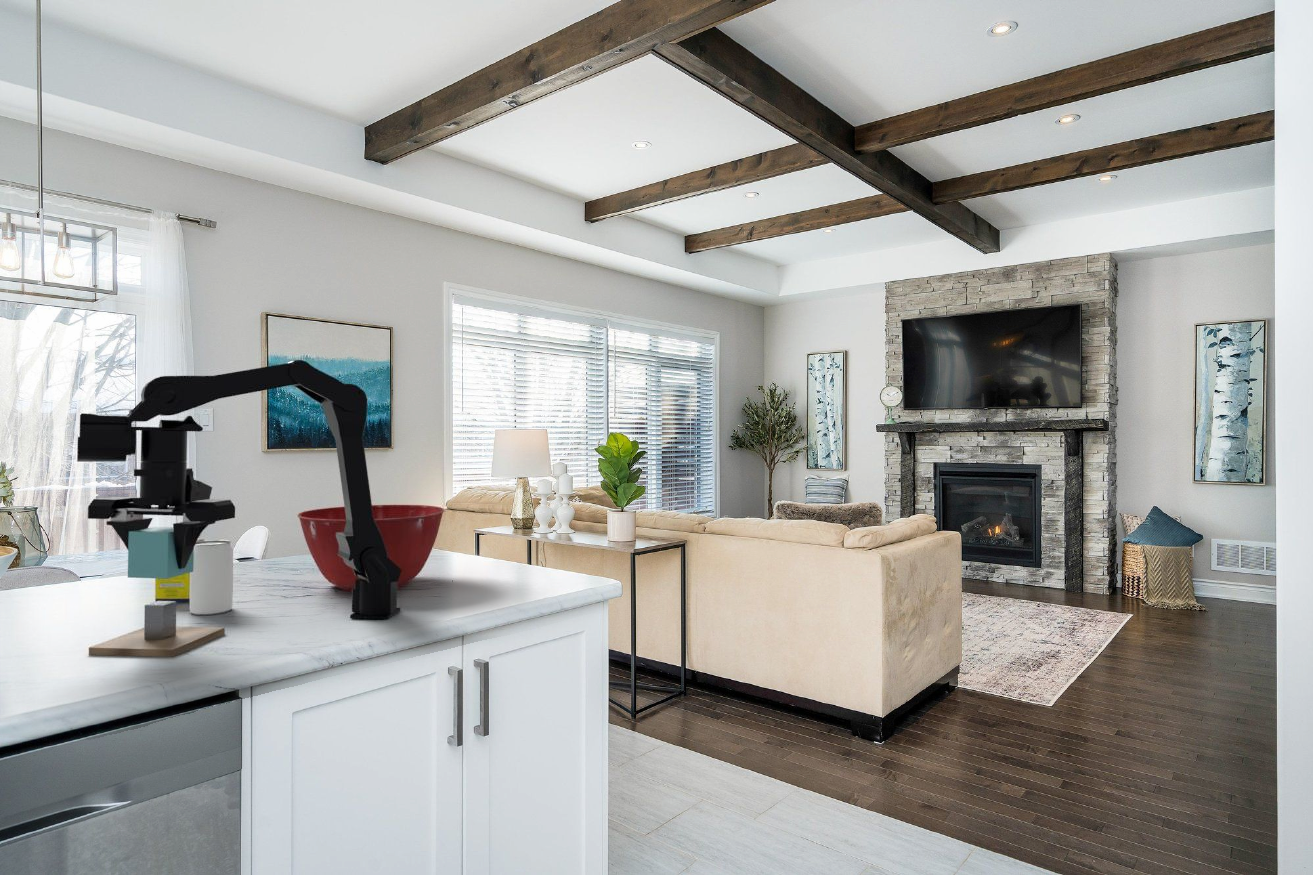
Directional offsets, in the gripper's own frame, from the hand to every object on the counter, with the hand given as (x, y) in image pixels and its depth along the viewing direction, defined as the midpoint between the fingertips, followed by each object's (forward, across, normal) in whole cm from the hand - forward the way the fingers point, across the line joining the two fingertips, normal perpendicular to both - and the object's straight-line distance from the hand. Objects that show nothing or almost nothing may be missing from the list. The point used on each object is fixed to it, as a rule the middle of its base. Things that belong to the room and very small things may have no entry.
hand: (161, 567), depth 111 cm
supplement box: (+11, +16, -28) cm, 34 cm away
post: (+11, 0, 0) cm, 11 cm away
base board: (+11, 0, 0) cm, 11 cm away
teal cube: (+1, 0, 0) cm, 1 cm away
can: (+11, +5, -20) cm, 23 cm away
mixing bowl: (+11, -13, -45) cm, 48 cm away
